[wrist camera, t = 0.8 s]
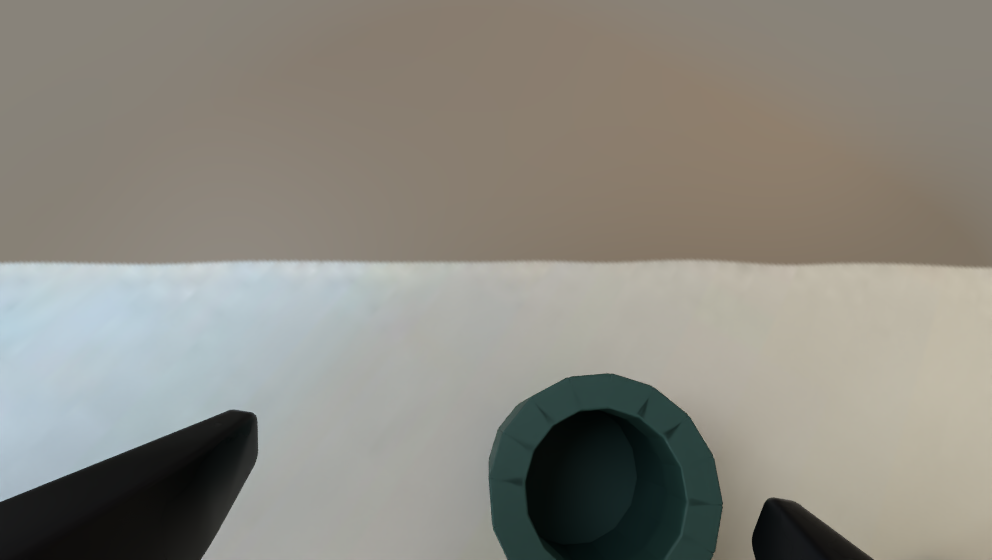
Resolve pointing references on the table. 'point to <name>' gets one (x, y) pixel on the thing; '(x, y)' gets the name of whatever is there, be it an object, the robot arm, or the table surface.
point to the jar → (603, 476)
